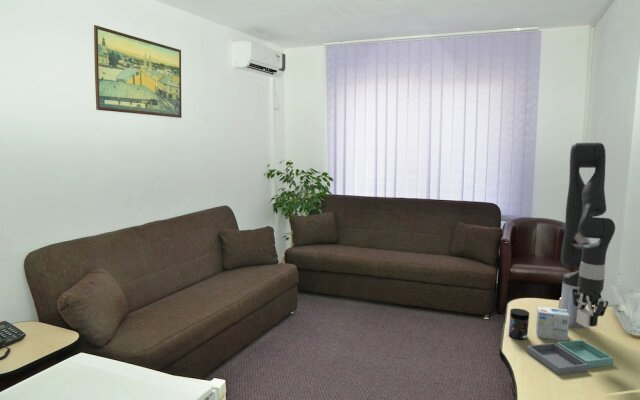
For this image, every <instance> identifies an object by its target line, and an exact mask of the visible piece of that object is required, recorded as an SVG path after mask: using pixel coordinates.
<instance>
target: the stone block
mask: <svg viewBox="0 0 640 400" xmlns="http://www.w3.org/2000/svg"><path fill="white" fill-rule="evenodd" d="M590 316H591V314H590V309H589V308H586V309H580V310H577V319H576V322H577V323H579V324H581V325H583V326H584V327H585V328H593V327H598V321H599V317H598V318H597V325H596V326H590V325H589V322H590Z"/></svg>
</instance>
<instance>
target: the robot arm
mask: <svg viewBox="0 0 640 400" xmlns="http://www.w3.org/2000/svg"><path fill="white" fill-rule="evenodd" d="M606 159H607V158H606V148H605V145H604V144H603V143H602V142H575V143H573V144H572V145H571V148H570V155H569V179H568V180H569V181H568V182H569V183H568V190H567V198H566V205H565V206H566V207H565V222H564V231H563V232H564V234H563V241H562V245H561V251H560V252H561V253H560V262H561V265H563V266H565V267H570V268H571V267H572V268H578V270H576V271H573V272H568V273H564V275H563V277H562V284H561V297H559V298H558V299H559V300H558V308H557V309H566V310H567V312H568V314H569V326H568V328H574V329H581V328H584V327H585V326H583V325H581V324H579V323H577V322H576V319H577V310H580V309H590V314H591V316H590V322H589V325H590V326H594V327H597V326H598V324H597V318H598V319H599V317H604V315H605V313H606V310H607V309H608V308H607V307H608V305H609V301H608V300H604V299H603V298H602V294H601V293H602V292H603V291H604V287H605V286H604V285H605V278H606V277H605V276H606V260H607V259H606V257H607V251H608V248H609V246H610V244H611V241H612V238H613V237H614V235H615V231H616V224H615V222H614V220H613V219H611V218H609V217H608V218H607V217H600V216H602V215H604V214H605V213H606V212H607V204H606V203H607V201H606V194H605V180H606V179H605V178H606ZM580 168H585V169H587V168H588V169H590V168H593V169H594V173H592V174H593V175H592V176H591V177H590V178H589V180H588V181H587V183H586V184H585V182H584V181H583V178H582V176H581V173H580ZM577 234H580V236H581V237H583V238H587V239H598V241H597V242H593V243H588V244H577V243H573V241H574V240H575V237H576V236H577ZM596 325H597V326H596Z"/></svg>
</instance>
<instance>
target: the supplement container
mask: <svg viewBox="0 0 640 400" xmlns="http://www.w3.org/2000/svg"><path fill="white" fill-rule="evenodd" d="M529 321H530V312H529V311H528V310H526V309H522V308H511V309H510V312H509V324H508V325H509V326H508V337H509V338H511V339H514V340H518V341H526V340H527V339H528V335H529Z"/></svg>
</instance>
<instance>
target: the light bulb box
mask: <svg viewBox="0 0 640 400" xmlns="http://www.w3.org/2000/svg"><path fill="white" fill-rule="evenodd" d="M536 311H537V312H536V321H535V322H536V323H535V335H536V337H537V338H543V339H551V340H557V341H562V342H566V341H568V338H569V337H568V336H569V327H568V326H569V314H568V312H567V310H566V309H558V308H555V307H546V306H539V305H538V306H537V309H536Z"/></svg>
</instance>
